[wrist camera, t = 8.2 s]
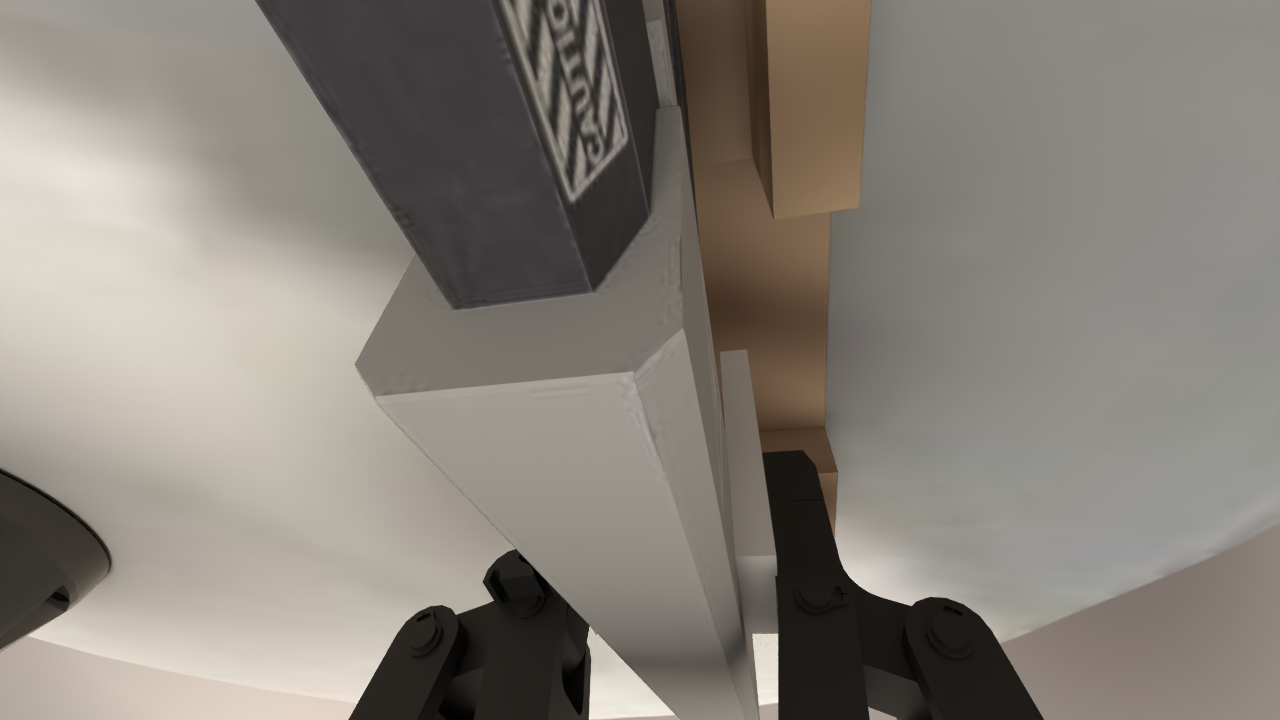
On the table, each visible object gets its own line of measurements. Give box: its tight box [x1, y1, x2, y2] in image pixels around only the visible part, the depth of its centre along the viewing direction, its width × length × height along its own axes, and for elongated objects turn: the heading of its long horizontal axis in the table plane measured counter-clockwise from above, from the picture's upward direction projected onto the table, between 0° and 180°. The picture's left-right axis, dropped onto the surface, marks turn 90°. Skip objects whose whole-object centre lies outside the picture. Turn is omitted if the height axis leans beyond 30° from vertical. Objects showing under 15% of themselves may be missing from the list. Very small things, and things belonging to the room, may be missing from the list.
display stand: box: [675, 0, 871, 537], centre depth 17 cm, size 22×10×8 cm, turn 10°
